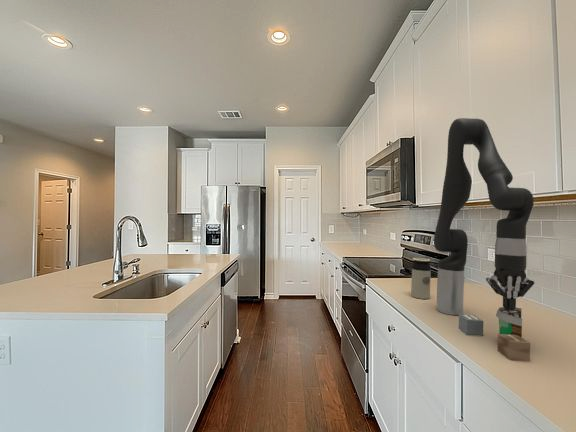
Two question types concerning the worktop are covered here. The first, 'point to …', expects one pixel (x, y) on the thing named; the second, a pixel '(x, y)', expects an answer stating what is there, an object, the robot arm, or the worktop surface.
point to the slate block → (471, 325)
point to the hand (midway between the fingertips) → (509, 309)
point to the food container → (510, 321)
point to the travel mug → (421, 278)
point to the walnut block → (513, 347)
